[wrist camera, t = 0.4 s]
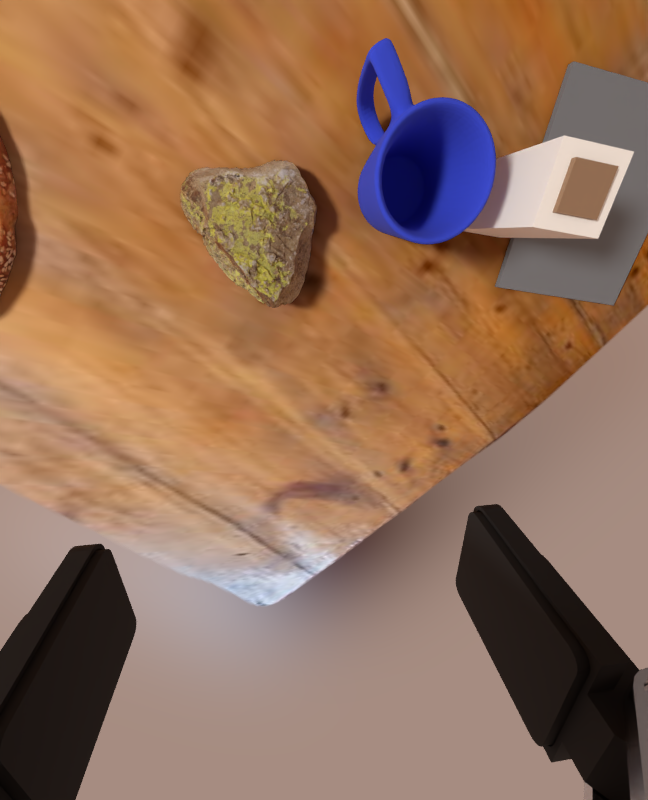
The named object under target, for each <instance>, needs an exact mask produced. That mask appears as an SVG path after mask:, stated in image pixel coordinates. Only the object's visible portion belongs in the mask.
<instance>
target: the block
mask: <svg viewBox="0 0 648 800" xmlns="http://www.w3.org/2000/svg"><path fill="white" fill-rule="evenodd" d="M633 154H634V151H629V150H625V149H621V148H616V147H612V146H608V145H604V144H599V143H595V142H591V141H586V140H582V139H578V138H573V137H569V136H565V135H564V136H561V137H558V138H555V139H552V140H550V141H547V142H544V143H541V144H538V145H535V146H532V147H529V148H527V149H524V150H521V151H518V152H515V153H512V154H509V155H506V156H504V157H501V158H498V159H496V170H495V178H494V182H493V187H492V190H491V193H490V195H489V198H488V200H487V202H486V204H485V206H484V208H483V209H482V211H481V213H480V214H479V215H478V217H477V218H476V219H475V221H474V222H473V223H472V224H471V225H470V226H469V227H468V228H467V229H465V230H464V231H465V232H470V233H476V234H482V235H488V236H494V237H499V238H575V239H598V238H599V236H600V233H601V231H602V228H603V226H604V224H605V221H606V219H607V216H608V214H609V212H610V209H611V207H612V204H613V202H614V199H615V197H616V195H617V192H618V190H619V187H620V185H621V183H622V180H623V178H624V175H625V173H626V171H627V168H628V166H629V163H630V161H631V158H632V156H633Z"/></svg>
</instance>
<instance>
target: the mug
mask: <svg viewBox="0 0 648 800" xmlns="http://www.w3.org/2000/svg"><path fill="white" fill-rule="evenodd" d="M377 77H378V79H379V81H380V84H381V86H382V88H383V91H384V93H385V96H386V98H387V100H388V103H389V106H390V109H391V115H392V117H391V122H390V125H389V127H388V128H387V130H386V131H385V133H384V131H383V129H382V127H381V125H380V123H379V120H378V118H377V115H376V111H375V107H374V100H373V92H374V85H375V81H376V78H377ZM357 108H358V114H359V117H360V121H361V124H362V126H363V128H364V131H365V133H366V135H367V136H368V138H369V140H370V141H371V142H372V143H373V144H375V145H376V147H375V149H374V150H373V152H372V154H371V155H370V157H369V159H368V160H367V162H366V164H365V166H364V168H363V170H362V172H361V175H360V179H359V184H358V200H359V205H360V208H361V211H362V213H363V215H364V217H365V218H366V220H367V221H368V222H369V224H370V225H372V226H373V227H374V228H375V229H377V230H378V231H380V232H383V233H385V234H389V235H392V236H395V237H398V238H401V239H404V240H408V241H411V242H414V243H418V244H436V243H441V242H444V241H447V240H449V239H452V238H454V237H455V236H457V235H459V234H460V233H462V232H463V231H464V230H465V229H467V228H468V227H469V226H470V225H471V224H472V223H473V222H474V221H475V219H476V218H477V217H478V215H479V214H480V213H481V211H482V209H483V208H484V206H485V204H486V202H487V200H488V198H489V195H490V193H491V190H492V187H493V182H494V178H495V170H496V153H495V146H494V142H493V138H492V135H491V133H490V130H489V128H488V126H487V124H486V123H485V121H484V120H483V118H482V117H481V116H480V114H479V113H478V112H477V111H476V110H474V109H473V108H472V107H471V106H469V105H467V104H466V103H464V102H462V101H459V100H456V99H453V98H444V97H442V98H432V99H428V100H425V101H422V102H420V103H418V104H416V105H413V103H412V99H411V94H410V90H409V86H408V82H407V79H406V76H405V74H404V71H403V68H402V66H401V63H400V60H399V58H398V55H397V53H396V50H395V48H394V46H393V44H392V42H391V40H390V39H387V38H385V39H383V40H381V41H379V42H378V43H376V44H375V45H374V46H373V47H372V48H371V49H370V51H369V53H368V55H367V57H366V60H365V63H364V66H363V69H362V72H361V76H360V79H359V84H358V90H357Z"/></svg>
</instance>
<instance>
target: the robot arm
mask: <svg viewBox="0 0 648 800" xmlns="http://www.w3.org/2000/svg"><path fill="white" fill-rule="evenodd" d="M456 587H457V590H458V593H459V595H460V597H461V599H462V601H463V603H464V605H465V607H466V609H467V611H468V613H469V615H470V617H471V619H472V621H473V623H474V625H475V627H476V629H477V631H478V633H479V635H480V637H481V639H482V641H483V643H484V645H485V646H486V649H487V651H488V653H489V655H490V656H491V658H492V660H493V662H494V664H495V666H496V668H497V670H498V672H499V674H500V676H501V678H502V680H503V682H504V684H505V686H506V688H507V690H508V692H509V694H510V696H511V698H512V700H513V702H514V704H515V706H516V708H517V710H518V711H519V714H520V715H521V717H522V720H523V722H524V723H525V725H526V727H527V729H528V731H529V733H530V735H531V737H532V739H533V740H534V741H535V743H536V744H537V745H539V746H543V747H544V749H545V751H546V752H547V755H548V757H549V759H550V761H551V762H556V761H562V760H567V759H572V760H573V762H574V764H575V766H576V768H577V769H578V771H579V773H580V775H581V776H582V778H583V780H584V800H648V668H645V669H641V670H639V669H638V668H637V667H636V666H635V664H634V663H633V662H632V661H631V660H630V658H629V657H628V656H627V655H626V654H625V652H624V651H623V650H622V649H621V648H620V647H619V645H618V644H617V643H616V642H615V641H614V639H613V638H612V637H611V636H610V634H609V633H608V632H607V631H606V630H605V629H604V627H603V626H602V625H601V624H600V622H599V621H598V620H597V619H596V618H595V617H594V615H593V614H592V613H591V612H590V611H589V609H588V608H587V607H586V606H585V605H584V603H583V602H582V601H581V600H580V598H579V597H578V596H577V595H576V594H575V592H573V590H572V589H571V588H570V587H569V585H568V584H567V583H566V582H565V581H564V579H563V578H562V577H561V576H560V575H559V573H558V572H557V571H556V570H555V569H554V567H553V566H552V565H551V564H550V563H549V561H548V560H547V559H546V558H545V557H544V556H543V555H541V554H540V553H539V551H538V550H537V549H536V548H535V547H534V546H533V544H532V543H531V542H530V541H529V539H528V538H527V537H526V536H525V535H524V533H523V532H522V531H521V530H520V529H519V527H518V526H517V525H516V524H515V522H514V521H513V520H512V519H511V518H510V517H509V515H508V514H507V513H506V512H505V510H504V509H503V508H502V507H501V506H500V505H497V504H494V505H484V506H477V507H475V508H474V512H471V513H470V514H469V516H468V521H467V526H466V531H465V536H464V541H463V546H462V551H461V556H460V561H459V566H458V572H457V576H456ZM135 630H136V617H135V615H134V612H133V609H132V606H131V604H130V601H129V598H128V596H127V593H126V590H125V587H124V585H123V582H122V579H121V577H120V574H119V571H118V568H117V565H116V563H115V560H114V557H113V555H112V552H111V550H109V549H105V548H104V546H103V545H102V544H93V545H83V546H75V547H73V548H72V549H71V550H70V551H69V552H68V554H67V555H66V557H65V559H64V560H63V561H62V563H61V565H60V566H59V568H58V569H57V571H56V572H55V573H54V575H53V577H52V578H51V580H50V581H49V583H48V584H47V586H46V587H45V589H44V590H43V592H42V593H41V595H40V596H39V598H38V599H37V601H36V602H35V604H34V605H33V607H32V608H31V610H30V611H29V613H28V614H26V615H25V616H24V617H23V619H22V620H21V621H20V623H19V624H18V625H17V627H16V628H15V630H14V631H13V633H12V634H11V636H10V637H9V639H8V640H7V642H6V643H5V645H4V646H3V648H2V649H1V651H0V800H75V799H76V796H77V794H78V791H79V788H80V785H81V782H82V779H83V777H84V774H85V771H86V768H87V766H88V763H89V760H90V757H91V754H92V751H93V749H94V746H95V743H96V741H97V738H98V735H99V732H100V729H101V727H102V724H103V721H104V718H105V715H106V713H107V710H108V707H109V704H110V702H111V698H112V696H113V693H114V690H115V688H116V685H117V682H118V679H119V676H120V673H121V671H122V668H123V665H124V662H125V660H126V657H127V654H128V651H129V649H130V646H131V643H132V640H133V637H134V634H135Z"/></svg>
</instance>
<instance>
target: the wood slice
mask: <svg viewBox="0 0 648 800" xmlns="http://www.w3.org/2000/svg"><path fill="white" fill-rule="evenodd" d="M17 217H18V207H17V198H16V188H15V183H14V179H13V174H12V169H11V164H10V160H9V157H8V154H7V151H6V148H5V145H4V143H3V141H2V139H1V136H0V295H1V292H2V290H3V288H4V286H5V285H6V283H7V280H8V276H9V273H10V271H11V268H12V265H13V260H14V258H15V255H16V252H17V250H16V238H15V224H16V221H17Z"/></svg>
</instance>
